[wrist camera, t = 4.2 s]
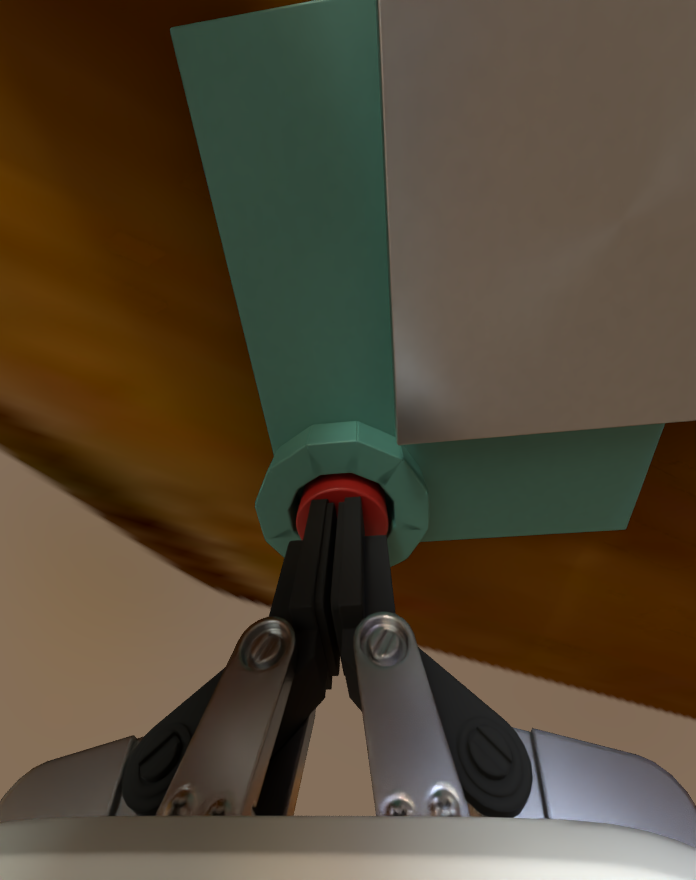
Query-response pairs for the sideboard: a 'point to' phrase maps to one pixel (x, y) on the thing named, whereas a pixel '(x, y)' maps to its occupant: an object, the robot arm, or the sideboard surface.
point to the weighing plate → (539, 214)
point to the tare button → (336, 491)
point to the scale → (355, 294)
